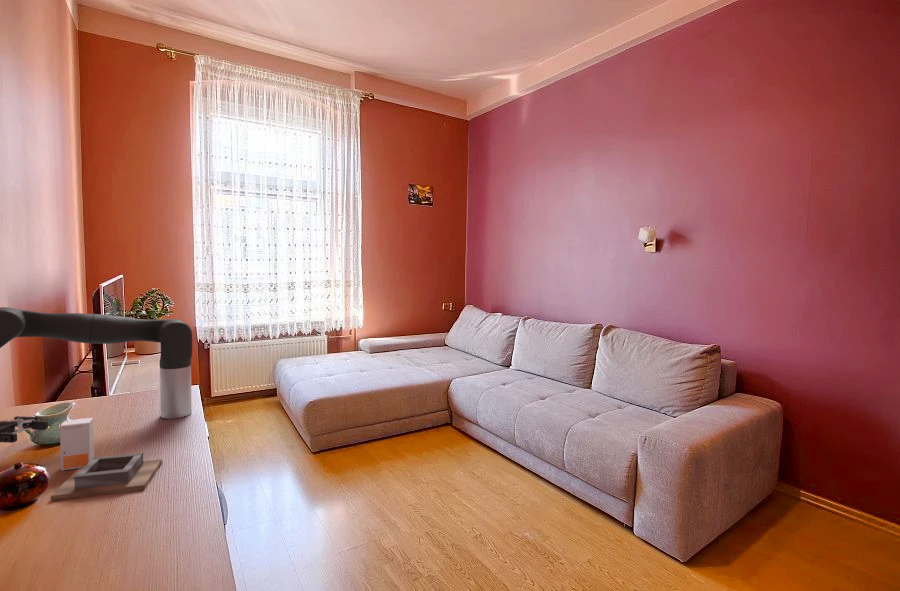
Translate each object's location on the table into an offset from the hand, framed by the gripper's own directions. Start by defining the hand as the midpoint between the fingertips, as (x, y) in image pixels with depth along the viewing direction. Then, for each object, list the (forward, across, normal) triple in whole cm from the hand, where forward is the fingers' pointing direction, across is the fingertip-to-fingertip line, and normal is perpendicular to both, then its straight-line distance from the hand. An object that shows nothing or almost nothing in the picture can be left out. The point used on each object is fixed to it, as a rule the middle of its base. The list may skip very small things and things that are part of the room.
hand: (32, 431), depth 114 cm
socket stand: (+25, -7, +9) cm, 28 cm away
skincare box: (+12, 0, +9) cm, 15 cm away
